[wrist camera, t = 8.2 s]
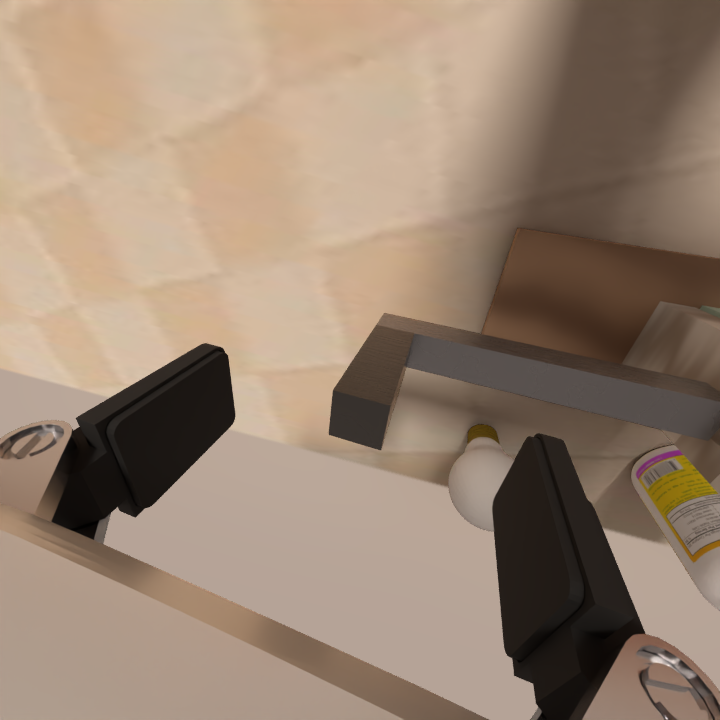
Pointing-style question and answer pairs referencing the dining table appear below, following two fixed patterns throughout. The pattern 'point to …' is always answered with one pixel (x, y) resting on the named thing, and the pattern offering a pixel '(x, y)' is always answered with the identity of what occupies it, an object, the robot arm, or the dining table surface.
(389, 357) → the dark grey bent bar
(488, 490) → the light bulb
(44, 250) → the dining table surface
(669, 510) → the supplement bottle
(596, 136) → the dining table surface
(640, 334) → the stand
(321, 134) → the dining table surface
